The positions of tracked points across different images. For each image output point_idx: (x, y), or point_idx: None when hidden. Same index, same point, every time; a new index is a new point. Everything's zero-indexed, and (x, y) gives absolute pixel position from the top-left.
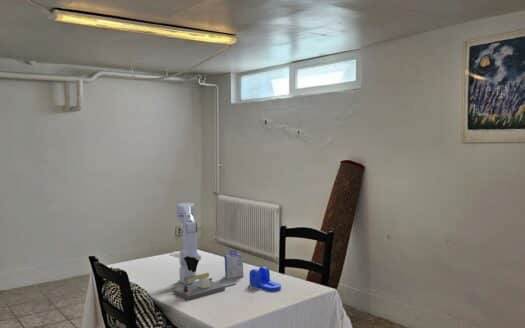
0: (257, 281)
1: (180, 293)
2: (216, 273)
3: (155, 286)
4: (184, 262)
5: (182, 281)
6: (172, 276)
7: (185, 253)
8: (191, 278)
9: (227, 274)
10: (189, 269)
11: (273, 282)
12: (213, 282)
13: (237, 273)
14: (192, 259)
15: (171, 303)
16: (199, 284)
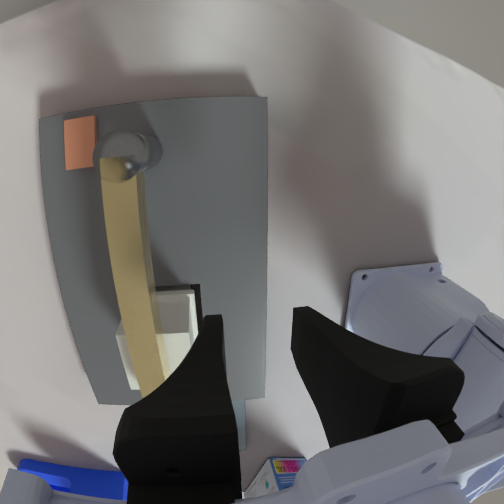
0: (73, 486)
1: (151, 101)
2: None
3: (456, 110)
4: (474, 352)
5: (410, 272)
6: (496, 273)
7: (475, 469)
8: (109, 231)
9: (272, 472)
10: (297, 322)
11: None
12: None
13: (255, 494)
14: (133, 463)
15: (82, 8)
16: (181, 303)
